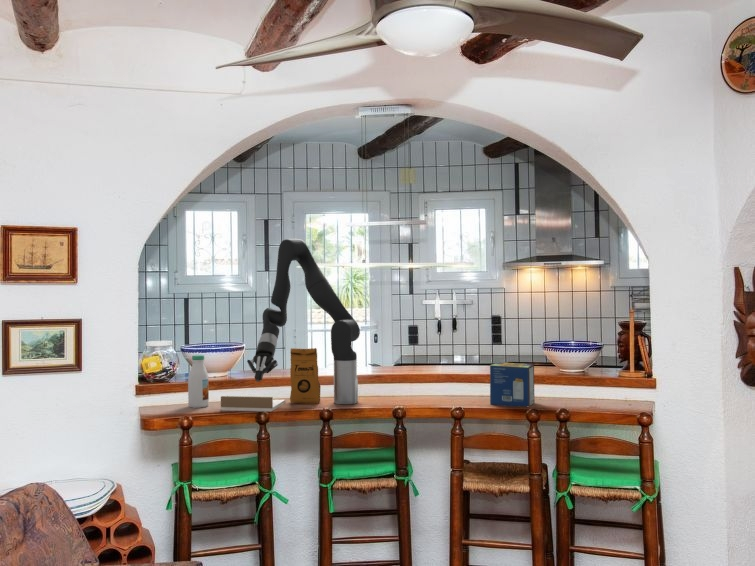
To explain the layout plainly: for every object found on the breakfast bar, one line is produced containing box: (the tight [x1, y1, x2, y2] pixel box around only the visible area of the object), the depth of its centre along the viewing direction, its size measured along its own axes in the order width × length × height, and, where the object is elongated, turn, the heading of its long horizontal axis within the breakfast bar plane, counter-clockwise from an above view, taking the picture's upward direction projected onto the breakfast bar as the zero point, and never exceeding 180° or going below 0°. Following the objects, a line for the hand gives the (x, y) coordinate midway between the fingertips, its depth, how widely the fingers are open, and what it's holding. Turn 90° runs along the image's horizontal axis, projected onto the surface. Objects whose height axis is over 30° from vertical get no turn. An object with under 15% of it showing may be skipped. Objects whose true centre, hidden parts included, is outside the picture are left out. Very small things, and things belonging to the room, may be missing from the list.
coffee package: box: [289, 347, 321, 405], centre depth 263 cm, size 10×12×22 cm
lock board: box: [220, 395, 286, 412], centre depth 255 cm, size 20×18×5 cm
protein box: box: [489, 361, 536, 407], centre depth 258 cm, size 10×15×16 cm
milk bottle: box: [187, 354, 210, 409], centre depth 257 cm, size 8×8×20 cm
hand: (257, 380), depth 260 cm, fingers closed
